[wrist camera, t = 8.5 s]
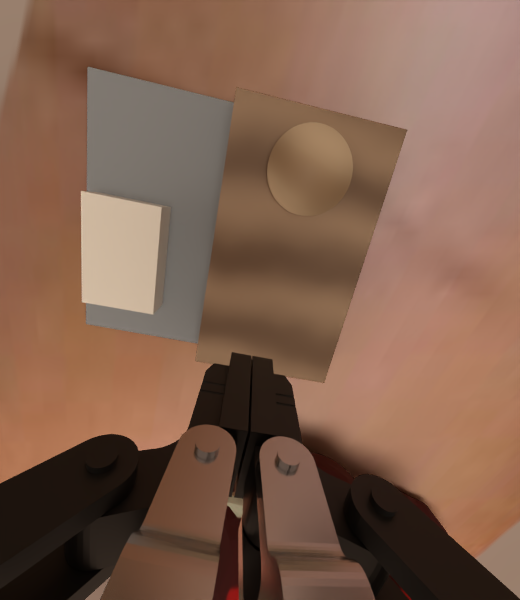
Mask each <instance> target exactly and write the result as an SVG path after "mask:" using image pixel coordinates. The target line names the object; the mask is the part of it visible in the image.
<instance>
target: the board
mask: <svg viewBox="0 0 520 600" xmlns="http://www.w3.org/2000/svg"><path fill="white" fill-rule="evenodd" d="M309 122H317V123H322V124H325V125H328V126H330V127H332V128H334V129H335V130H336V131H338V132H339V133H340V134H341V135H342V137H343V138H344V139H345V141H346V142H347V144H348V146H349V148H350V151H351V155H352V160H353V173H352V179H351V182H350V185H349V188H348V190H347V192H346V193H345V195H344V197H343V198H342V199H341V200H340V202H339V203H338V204H337V205H335V206H334V207H333V208H332V209H330V210H328V211H327V212H325V213H322V214H319V215H315V216H300V215H296V214H293V213H291V212H289V211H287V210H286V209H284V208H283V207H282V206H280V205H279V203H278V202H277V201H276V200H275V198H274V197H273V195H272V193H271V191H270V188H269V184H268V179H267V167H268V161H269V157H270V154H271V152H272V149H273V148H274V146H275V144H276V143H277V141H278V140H279V138H280V137H281V136H282V135H283V134H284V133H286V132H287V131H288V130H290V129H291V128H293V127H295V126H297V125H299V124H303V123H309ZM406 132H407V130H406V129H402V128H398V127H394V126H390V125H386V124H382V123H378V122H374V121H370V120H366V119H362V118H358V117H354V116H350V115H346V114H342V113H338V112H334V111H330V110H326V109H322V108H318V107H314V106H310V105H306V104H302V103H298V102H294V101H290V100H286V99H282V98H278V97H274V96H270V95H266V94H262V93H258V92H254V91H250V90H246V89H242V88H238V87H236V92H235V99H234V105H233V112H232V119H231V126H230V132H229V139H228V146H227V152H226V159H225V166H224V172H223V179H222V186H221V192H220V199H219V206H218V212H217V219H216V226H215V232H214V239H213V246H212V252H211V259H210V266H209V272H208V279H207V286H206V292H205V299H204V306H203V312H202V319H201V326H200V332H199V339H198V346H197V352H196V359H195V361H197V362H203V363H209V364H214V363H216V364H222V365H228V366H229V363H230V358H231V353H232V352H235V353H240V354H246V355H251V359H252V356H257V357H263V358H268V359H272V360H273V370H274V374H279V375H284V376H286V377H292V378H298V379H303V380H309V381H315V382H321V383H324V382H325V379H326V376H327V372H328V369H329V366H330V363H331V360H332V357H333V354H334V351H335V348H336V345H337V342H338V339H339V336H340V333H341V330H342V327H343V324H344V321H345V318H346V315H347V312H348V309H349V306H350V302H351V299H352V296H353V293H354V290H355V287H356V284H357V281H358V278H359V275H360V272H361V269H362V266H363V263H364V260H365V257H366V254H367V251H368V248H369V245H370V242H371V239H372V236H373V233H374V229H375V226H376V223H377V220H378V217H379V214H380V211H381V208H382V205H383V202H384V199H385V196H386V193H387V190H388V187H389V184H390V181H391V178H392V175H393V172H394V169H395V166H396V163H397V159H398V156H399V153H400V150H401V147H402V144H403V141H404V138H405V135H406Z"/></svg>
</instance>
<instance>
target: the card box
mask: <svg viewBox="0 0 520 600" xmlns="http://www.w3.org/2000/svg"><path fill="white" fill-rule="evenodd" d="M170 213H171V207H168V206H163V205H158V204H154V203H149V202H144V201H139V200H134V199H129V198H124V197H119V196H114V195H109V194H104V193H99V192H88V191H81V252H82V302H84V303H90V304H95V305H101V306H107V307H113V308H119V309H124V310H130V311H136V312H142V313H147V314H154V313H155V312H156V311H157V310H158V309H159V308H160V307H161V305H162V302H163V291H164V280H165V268H166V257H167V246H168V235H169V224H170Z"/></svg>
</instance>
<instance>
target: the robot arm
mask: <svg viewBox="0 0 520 600" xmlns="http://www.w3.org/2000/svg"><path fill="white" fill-rule="evenodd" d="M234 485H235V491H234V498H241V499H243V514H242V518H241V521H240V525H239V531H238V564H239V600H409V599H408V597H407V596H406V595H405V594H404V593H403V592H402V591H401V589H400V588H399V587H398V586H397V585H396V584H395V582H394V581H393V580H392V579H391V578H390V577H389V575H391V577H392V578H393V579H394V580H395V581H396V582H397V583H398V585H399V586H400V587H401V588H402V589H403V590H404V591H405V593H406V594H407V595H408V596H409V597H410V598H411V599H412V600H520V599H519V598H518V597H517V596H516V595H515V594H514V593H513V592H512V591H510V590H509V589H508V588H507V587H506V586H505V585H504V584H503V583H502V582H500V581H499V580H498V579H497V578H496V577H495V576H494V575H493V574H492V573H490V572H489V571H488V570H487V569H486V568H485V567H484V566H483V565H481V564H480V563H479V562H478V561H477V560H476V559H475V558H474V557H473V556H471V555H470V554H469V553H468V552H467V551H466V550H465V549H464V548H463V547H461V546H460V545H459V544H458V543H457V542H456V541H455V540H454V539H453V538H451V537H450V536H449V535H448V534H447V533H446V532H445V531H444V530H442V529H441V528H440V527H439V526H438V525H437V524H436V523H435V522H434V521H432V520H431V519H430V518H429V517H428V516H427V515H426V514H425V513H424V512H422V511H421V510H420V509H419V508H418V507H417V506H416V505H415V504H414V503H412V502H411V501H410V500H409V499H408V498H407V497H406V496H405V495H403V494H402V493H401V492H400V491H399V490H398V489H397V488H396V487H394V486H393V485H392V484H390V483H389V482H388V481H386V480H384V479H382V478H380V477H377V476H374V475H369V474H364V475H360V476H358V477H356V478H355V479H354V480H353V482H352V484H349V483H347V482H345V481H343V480H340V479H338V478H336V477H334V476H332V475H330V474H328V473H326V472H324V471H323V470H321V469H320V468H319V467H317V466H316V464H315V461H314V458H313V456H312V454H311V453H310V452H309V450H308V449H307V448H306V447H305V446H304V445H303V444H302V439H301V433H300V428H299V422H298V417H297V411H296V408H295V400H294V395H293V390H292V385H291V384H290V382H289V381H288V380H287V378H286V377H285V376H284V375H279V374H274V370H273V360H272V359H268V358H263V357H257V356H252V359H251V355H246V354H240V353H235V352H232V353H231V358H230V363H229V366H228V365H222V364H216V363H214V364H213V365H212V366H211V367H210V368H208V369H207V370H206V372H205V376H204V379H203V383H202V385H201V389H200V392H199V395H198V398H197V401H196V405H195V408H194V411H193V414H192V418H191V421H190V424H189V427H188V429H187V431H186V432H185V433H184V434H183V435H182V436H181V437H180V439H179V440H177V441H176V442H174V443H172V444H170V445H168V446H165V447H162V448H157V449H149V450H142V451H138V448H137V446H136V444H135V443H134V442H133V441H132V440H131V439H129V438H127V437H125V436H122V435H116V434H108V435H101V436H97V437H94V438H91V439H89V440H87V441H85V442H83V443H81V444H79V445H77V446H75V447H73V448H71V449H69V450H67V451H65V452H63V453H61V454H59V455H57V456H55V457H53V458H51V459H49V460H47V461H45V462H43V463H41V464H39V465H37V466H35V467H33V468H31V469H29V470H27V471H25V472H23V473H21V474H19V475H17V476H14V477H12V478H10V479H8V480H6V481H4V482H2V483H0V600H85V599H86V598H87V597H88V596H89V595H90V594H91V593H92V592H94V591H95V589H97V588H98V587H99V586H100V585H101V584H102V583H103V582H105V580H106V579H108V578H109V577H110V579H109V581H108V583H107V585H106V587H105V590H104V592H103V594H102V596H101V598H100V600H212V599H213V593H214V587H215V582H216V576H217V570H218V563H219V557H220V542H221V536H222V531H223V525H224V519H225V514H226V508H227V502H228V497H232V493H233V489H234Z"/></svg>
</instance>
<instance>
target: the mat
mask: <svg viewBox="0 0 520 600" xmlns="http://www.w3.org/2000/svg"><path fill="white" fill-rule="evenodd" d="M233 105H234V102H230V101H225V100H221V99H217V98H213V97H209V96H205V95H201V94H197V93H193V92H189V91H185V90H181V89H177V88H173V87H168V86H164V85H160V84H156V83H152V82H148V81H144V80H140V79H136V78H132V77H128V76H124V75H120V74H116V73H111V72H107V71H103V70H99V69H95V68H91V67H88V86H87V191H88V192H99V193H104V194H109V195H114V196H119V197H124V198H129V199H134V200H139V201H144V202H149V203H154V204H158V205H163V206H168V207H171V213H170V224H169V235H168V246H167V257H166V268H165V280H164V291H163V302H162V305H161V307H160V308H159V309H158V310H157V311H156V312H155V313H154V314H147V313H142V312H136V311H130V310H124V309H119V308H113V307H107V306H101V305H95V304H90V303H86V324H89V325H95V326H101V327H106V328H112V329H118V330H124V331H129V332H135V333H141V334H146V335H152V336H158V337H164V338H169V339H175V340H181V341H186V342H192V343H198V339H199V332H200V326H201V319H202V312H203V306H204V299H205V292H206V286H207V279H208V272H209V266H210V259H211V252H212V246H213V239H214V232H215V226H216V219H217V212H218V206H219V199H220V192H221V186H222V179H223V172H224V166H225V159H226V152H227V146H228V139H229V132H230V126H231V119H232V112H233Z"/></svg>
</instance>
